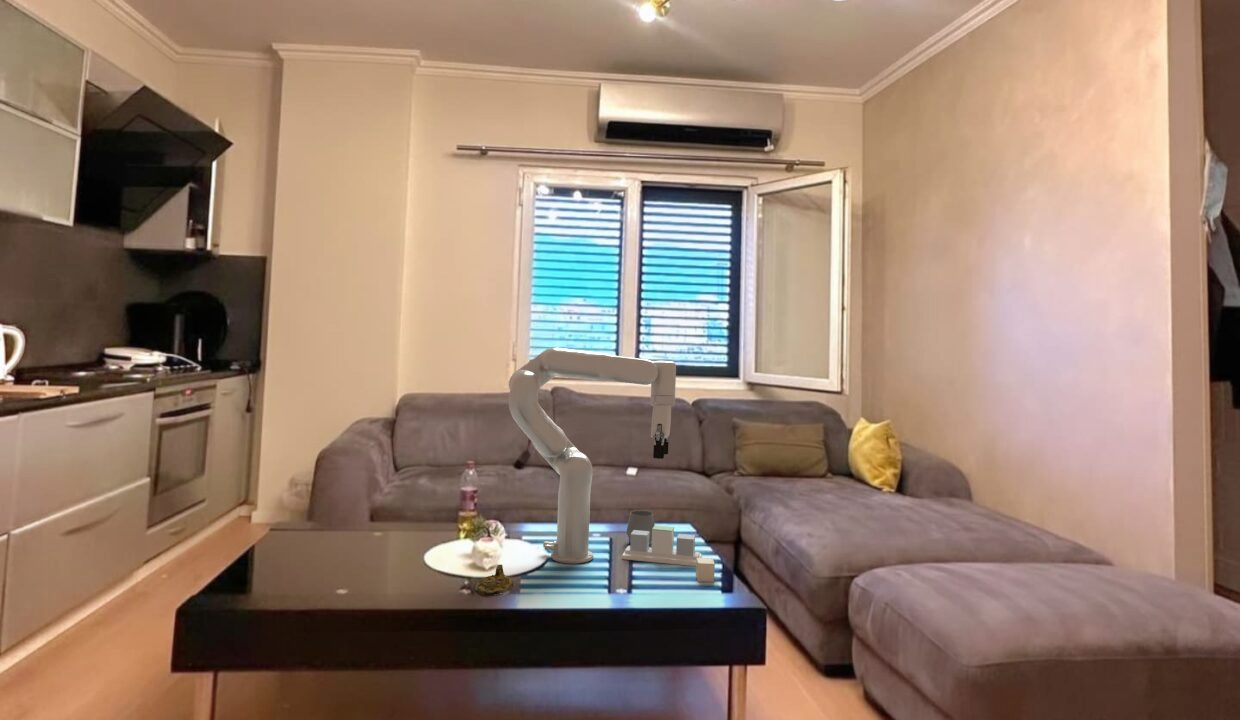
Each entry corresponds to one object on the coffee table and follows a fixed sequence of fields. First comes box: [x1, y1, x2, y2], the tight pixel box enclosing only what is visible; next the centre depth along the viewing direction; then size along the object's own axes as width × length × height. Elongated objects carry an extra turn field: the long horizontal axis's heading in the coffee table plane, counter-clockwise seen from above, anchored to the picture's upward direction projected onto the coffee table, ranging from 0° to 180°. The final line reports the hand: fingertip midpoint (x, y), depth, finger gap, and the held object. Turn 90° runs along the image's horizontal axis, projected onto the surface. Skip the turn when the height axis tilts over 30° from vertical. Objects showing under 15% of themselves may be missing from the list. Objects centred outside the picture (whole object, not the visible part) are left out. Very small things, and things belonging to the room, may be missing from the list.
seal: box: [474, 564, 514, 597], centre depth 175 cm, size 9×5×15 cm
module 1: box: [651, 525, 675, 554], centre depth 205 cm, size 6×4×7 cm
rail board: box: [621, 530, 703, 567], centre depth 205 cm, size 23×9×7 cm, turn 79°
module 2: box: [695, 557, 716, 583], centre depth 187 cm, size 4×5×5 cm
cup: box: [626, 510, 656, 545], centre depth 220 cm, size 10×9×10 cm
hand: (660, 456), depth 209 cm, fingers open, 9 cm apart
